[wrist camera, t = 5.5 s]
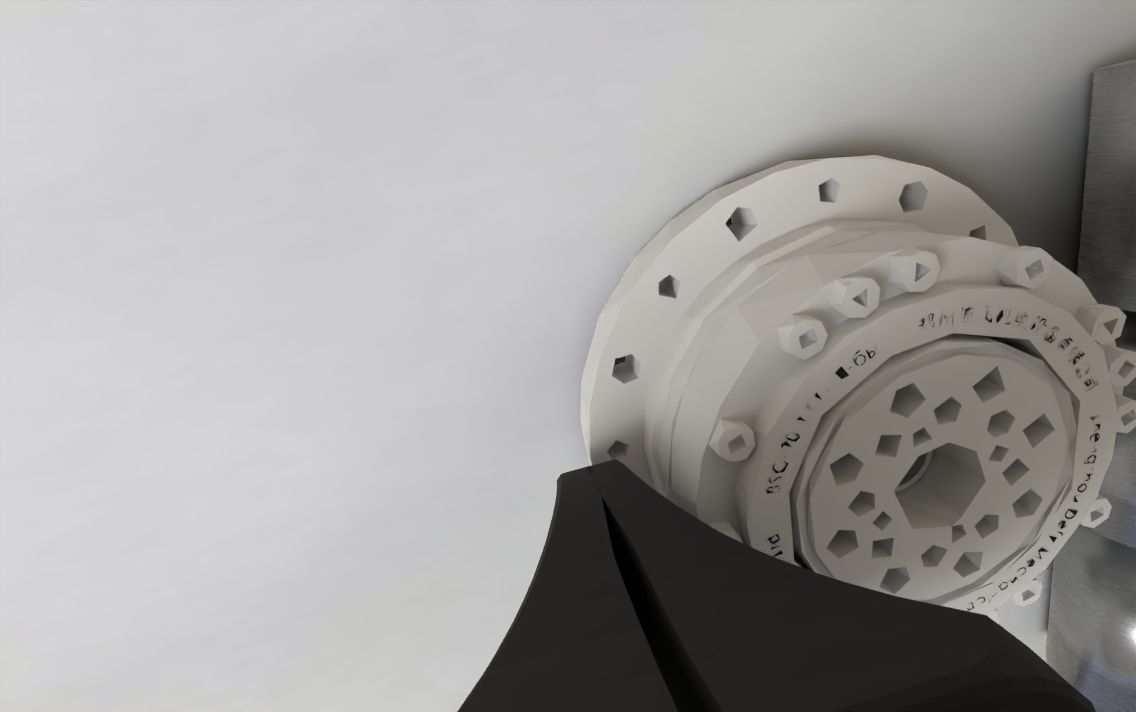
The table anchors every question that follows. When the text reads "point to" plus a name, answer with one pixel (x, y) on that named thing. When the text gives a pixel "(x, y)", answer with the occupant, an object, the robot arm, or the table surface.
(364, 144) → the table surface
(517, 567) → the table surface
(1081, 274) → the hinge leaf
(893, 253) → the mechanical component
